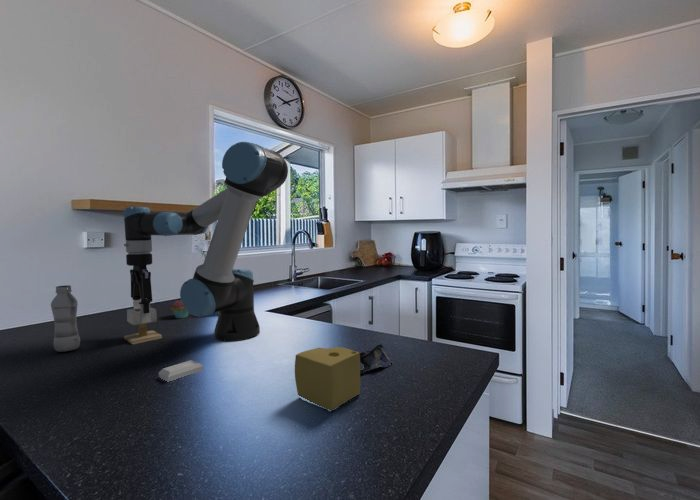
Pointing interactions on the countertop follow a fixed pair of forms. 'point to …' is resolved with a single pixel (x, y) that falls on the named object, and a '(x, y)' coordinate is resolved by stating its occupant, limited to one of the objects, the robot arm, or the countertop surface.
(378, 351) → the snack package
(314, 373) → the cheese
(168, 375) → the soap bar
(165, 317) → the countertop surface
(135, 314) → the grey square frame
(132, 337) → the tan square plate
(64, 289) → the plastic bottle
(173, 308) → the cupcake
